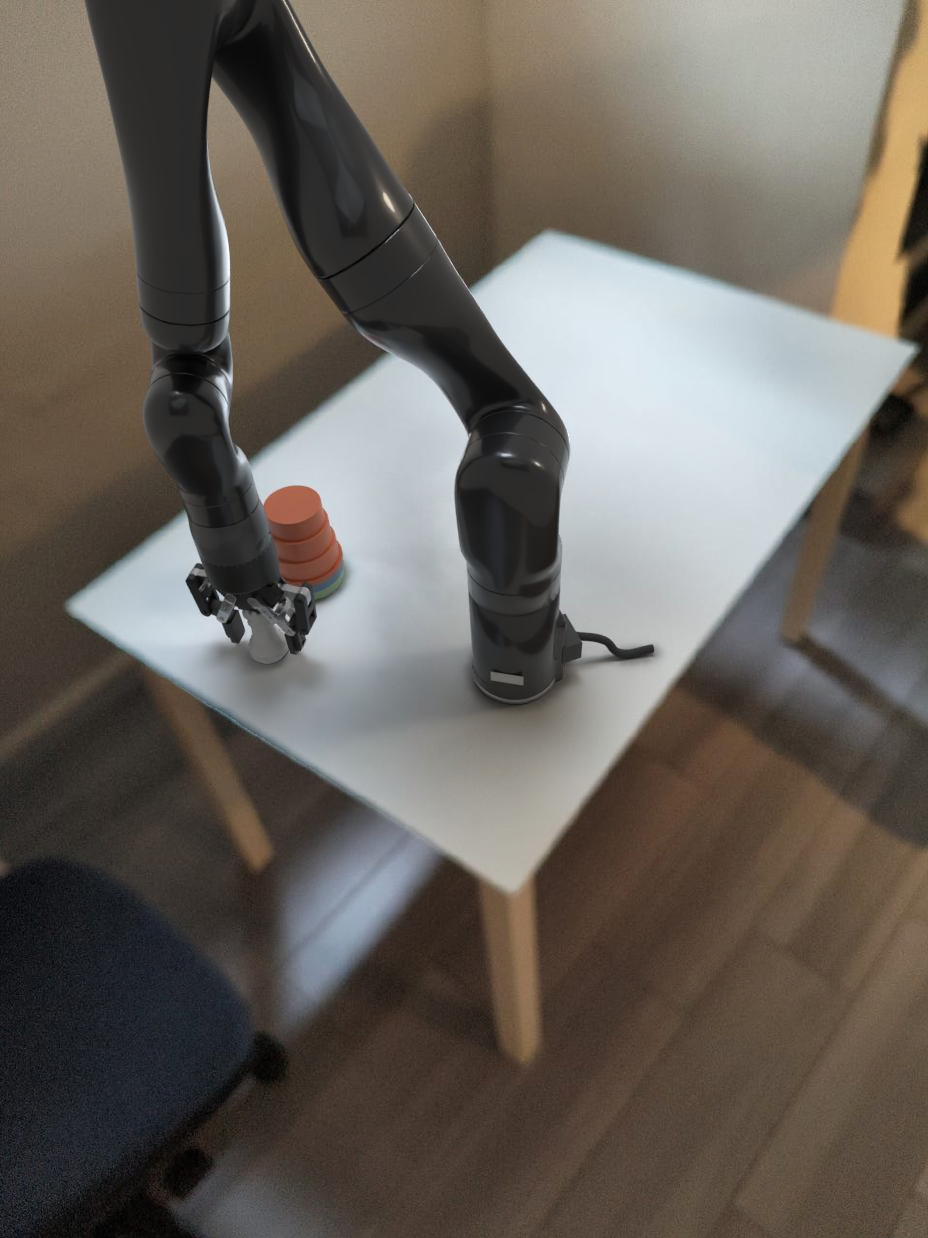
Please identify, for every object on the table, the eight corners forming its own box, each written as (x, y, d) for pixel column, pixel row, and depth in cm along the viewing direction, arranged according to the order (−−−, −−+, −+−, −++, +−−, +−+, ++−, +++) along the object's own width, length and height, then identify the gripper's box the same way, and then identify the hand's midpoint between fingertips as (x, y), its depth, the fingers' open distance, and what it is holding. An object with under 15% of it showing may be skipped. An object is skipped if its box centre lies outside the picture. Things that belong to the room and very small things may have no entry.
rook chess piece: (261, 672, 103) (245, 626, 97) (244, 647, 106) (227, 601, 100) (296, 654, 105) (282, 607, 99) (279, 630, 107) (264, 583, 101)
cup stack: (336, 542, 116) (321, 470, 108) (354, 590, 111) (340, 518, 102) (266, 561, 115) (245, 489, 106) (281, 611, 109) (260, 540, 100)
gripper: (314, 523, 92) (338, 630, 105) (186, 502, 95) (224, 608, 108) (285, 575, 88) (314, 680, 100) (151, 551, 91) (195, 657, 103)
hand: (267, 643), depth 104 cm, fingers open, 6 cm apart
